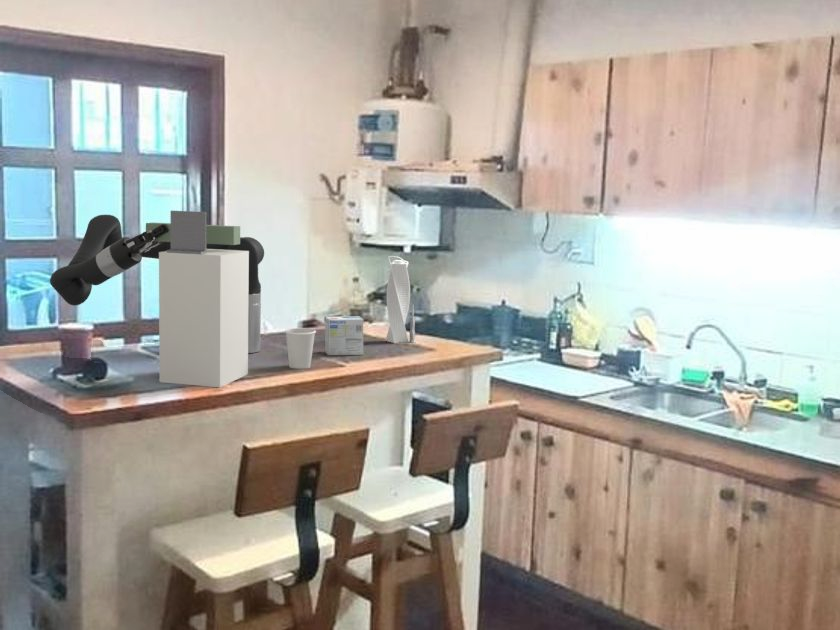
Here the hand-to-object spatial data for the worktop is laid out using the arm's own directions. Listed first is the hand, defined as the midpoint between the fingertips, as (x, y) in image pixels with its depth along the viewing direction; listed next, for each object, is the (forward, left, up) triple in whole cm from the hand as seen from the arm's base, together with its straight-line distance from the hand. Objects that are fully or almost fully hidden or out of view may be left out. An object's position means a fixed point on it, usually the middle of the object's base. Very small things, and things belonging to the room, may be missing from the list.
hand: (170, 226), depth 242 cm
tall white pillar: (+6, +12, -37) cm, 40 cm away
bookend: (+12, +11, -5) cm, 16 cm away
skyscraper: (-67, +44, -38) cm, 89 cm away
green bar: (0, +6, -4) cm, 7 cm away
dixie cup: (-17, +29, -38) cm, 51 cm away
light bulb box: (-41, +34, -38) cm, 66 cm away
